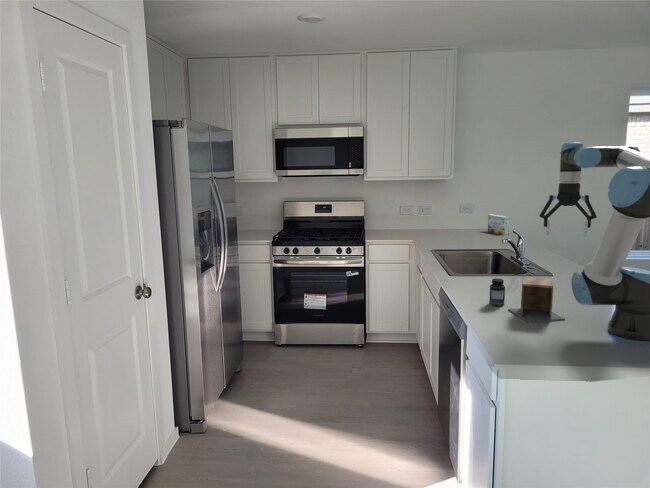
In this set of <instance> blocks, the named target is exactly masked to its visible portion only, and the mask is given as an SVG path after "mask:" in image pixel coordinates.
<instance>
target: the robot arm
mask: <svg viewBox="0 0 650 488" xmlns="http://www.w3.org/2000/svg"><path fill="white" fill-rule="evenodd" d="M559 159H560V160H559V161H560V162H559V163H560V164H559V180H558V182H559V184H558V190H557V191H558V193H557V195H556V194H555V195H554V194H549V197H548V200H547V202H546V204H545V205H544V207H543V209H542V210H541V212H540V214H539V218H542V219H543V227H545V228H546V229H545V235H546V236H549V235H550V221H551V220H550V217H551V216H552V215H553V214H555V212H556V211H557V210H559V209H560V207H574V206H575V207H576V208H577V209H578V210H579V211H580V212H581V213H582V215H583V216H584V217H585V218H586V219H584V221H583V222H584V223H583V236H584V237H585V238H586V237H587V236H588V229H590V228H591V225H592V220H594V219H597V215H596V214H597V213H596V212H595V210H594V208H593V206H592V204H591V202H590V196H589V195H588V194H584V195H583V194H582V195H581V179H582V169H589V168H590V169H591V168H617V169H619V170H618V171H617V172H615V173H614V175H613V176H612V178H611V180H610V181H609V185H608V188H607V189H608V190H609V191H608V192H607V197H608V200H609V202H610V204H611V205H610V206H611V207H612V209H613V212H612V214H611V216H610V220H609V222H608V224H607V226H606V228H605V230H604V233H603V236H602V237H601V240H600V243H599V245H598V247H597V250H596V252H595V254H594V256H593V259H592V260H591V261H590V262H588V263H586V264H585V265H584V267H583V269H582V271H576V272H574V273H572V275H571V282H570V283H571V290H572V295H573V297H574V298H575V300H576V301H577V303H578V304H580V305H583V306H615V307H614V308H615V309H614V311H613V313H612V315H611V317H610V320H609V321H608V322H607V331H608V332H609V333H611V334H613V335H614V336H618V337H621V338H624V339H629V340H634V341H635V340H636V341H644V342H645V341H650V270H647V269H643V268H638V267H632V266H624V263H625V262H626V260H627V258H628V256H629V254H630V252H631V250H632V248H633V246H634V243H636V240H637V237H638V235H639V234H640V232H641V230H642V227H643V225H644V223H645V222H646V220H647V219H650V155H648V154H647V153H646V154H645V153H643V152H641V151H640V148H639V147H638V146H636V145H619V146H617V145H616V146H615V145H614V146H613V145H612V146H584V144H583V143H582V142H564V143H562V145H561V149H560V158H559ZM556 199H557V201H558V202H557V203H556V204H555V205H554V206H553V207H552V208H551V209H550V210H549V208H550V206H551V204H552V202H554V201H555V200H556ZM580 200H582V201H584V203H585V205H586V207H587V209H588V211H589V213H590V214H589V213H588V212H587V211H586V210H585V208H583V206H582V205H581V204H580V203H579V201H580ZM548 210H549V211H548ZM547 211H548V212H547ZM546 212H547V213H546Z"/></svg>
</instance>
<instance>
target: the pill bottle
mask: <svg viewBox="0 0 650 488" xmlns="http://www.w3.org/2000/svg"><path fill="white" fill-rule="evenodd" d="M491 283H492V284H490V286H489V298H488V299H489V301H488V302H489V304H490V305H491V306H493V307H503V306H504V305H505V298H506V297H505V296H506V286H505V285H504V279H503V278H497V277H496V278H492V279H491Z"/></svg>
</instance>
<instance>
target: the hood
mask: <svg viewBox="0 0 650 488" xmlns="http://www.w3.org/2000/svg"><path fill="white" fill-rule="evenodd" d="M521 281H522V282H521V296H520V297H521V300H520V308H521V317H523V309H529V310H540V311H548V315H549V319H551V314H552V312H553V297H554V283H553V280H552V278H539V277H538V278H537V277H525V276H524V277H522V279H521Z"/></svg>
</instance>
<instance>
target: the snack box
mask: <svg viewBox="0 0 650 488" xmlns="http://www.w3.org/2000/svg"><path fill="white" fill-rule="evenodd" d="M487 232H488V233H492V234H496V235H501V236H509V234H510V233H509V232H510V216H505V215H501V214H500V215H498V214H491V213H490V214H487Z"/></svg>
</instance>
